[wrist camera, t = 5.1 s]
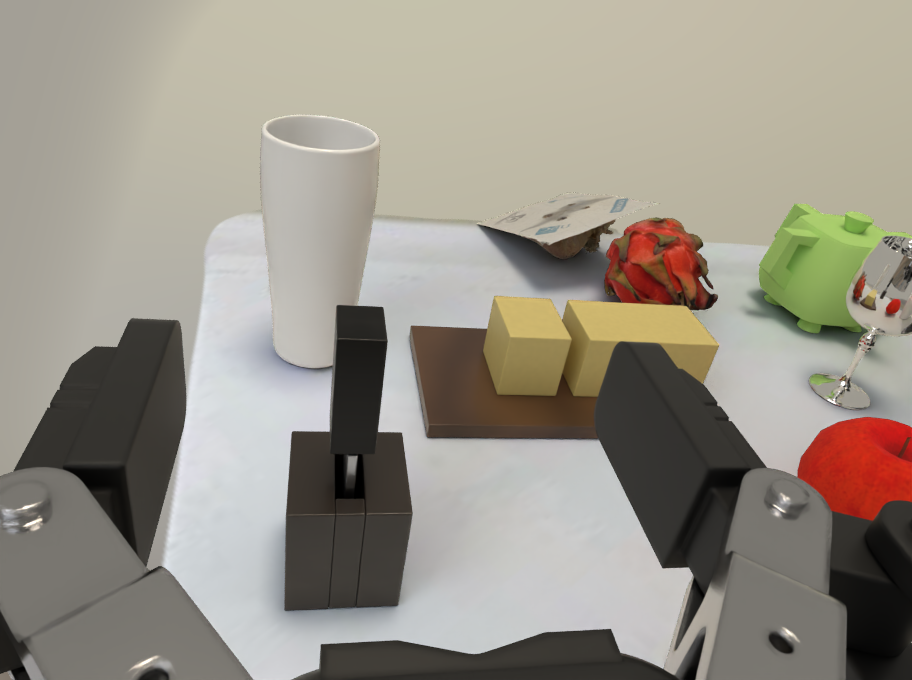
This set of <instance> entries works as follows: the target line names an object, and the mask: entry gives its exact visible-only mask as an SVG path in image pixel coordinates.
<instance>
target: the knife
mask: <svg viewBox="0 0 912 680" xmlns="http://www.w3.org/2000/svg"><path fill="white" fill-rule="evenodd" d="M387 342H388V341H387V333H386V325H385V317H384V309H383V307H373V306H351V305H337V306H336V318H335V335H334V352H333V369H332V387H331V404H330V454H343V468H342V481H341V494H340V499H354V493H355V482H356V471H357V460H358V454H375V452H376V443H377V434H378V425H379V416H380V406H381V397H382V388H383V379H384V370H385V360H386V351H387Z"/></svg>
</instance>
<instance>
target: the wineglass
mask: <svg viewBox="0 0 912 680" xmlns="http://www.w3.org/2000/svg"><path fill="white" fill-rule="evenodd" d="M845 305H846V308H847V311H848V313H849V314H850V316H851V317H852V318H853V319H854V320H855V321H856V322H857V323H858V324H859V325H861V326H862V327H863V328H865V329H867V330H868V332H867V333H865V334H863V335H862V337H861V338H860V339H859V342H858V348H857V351H856V353H855V356H854V359H853V361H852V362H851V364H850V366H849V368H848V369H847V371H846V372H845V374H844V375H843V376H841V377H839V376H835V375H831V374H825V373H818V374H814V375H812V376H811V377H810V378H809V384H810V386H811V388H812V389H813V390H814V391H815V392H816V393H817V394H818V395H819V396H821V397H822V398H824V399H825V400H827V401H829V402H831V403H833V404H835V405H838V406H841V407H844V408H848V409H853V410H862V409H866V408H868V407H869V405H870V398H869V396H868V395H867V394H866V392H865V391H864V390H862V389H861V388H860V387H859V386H857V385H856V384H854V383H852V382H851V378H852V375H853V373H854V371H855V369H856V367H857V365H858V364H859V362H860V360H861V359H862V358H863V357H864V356H865V354H866V353H867V352H868V351H870V350H871V348H872V347H873V346H874V344H875V341H876V334H879V335H884V336H894V337H900V336H908V335H912V239H911V238H907V237H902V236H884V237H882V238H881V240H880V241H879V242H878V243H877V244H876V245H875V246H874V247H873V249H872V250H871V251H870V252H869V253H868V254H867V255H866V256H865V258H864V259H863V260H862V262H861V263H860V264H859V266H858V267H857V269H856V270H855V272H854V273H853V275H852V277H851V279H850V281H849V283H848V286H847V289H846V293H845Z"/></svg>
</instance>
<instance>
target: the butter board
mask: <svg viewBox="0 0 912 680" xmlns="http://www.w3.org/2000/svg"><path fill="white" fill-rule="evenodd" d="M486 334H487V329H477V328H454V327H430V326H411V328H410V336H409V337H410V343H411V348H412V354H413V360H414V365H415V371H416V377H417V383H418V388H419V394H420V400H421V405H422V411H423V417H424V422H425V428H426V434H427V437H477V438H596V439H599V438H598V436H597V434H596V431H595V426H594V408H595V404H596V400H597V397H589V396H573V394H572V392H571V390H570V388H569V385H568V383H567V381H566V379H565V377H564V375H563V373H562V375H561V379H560V382H559V386H558V389H557V393H556V396H537V395H498V394H497V392H496V389H495V386H494V383H493V380H492V377H491V374H490V371H489V368H488V364H487V361H486V358H485V355H484V352H483V348H484V344H485V339H486Z"/></svg>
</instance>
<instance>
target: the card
mask: <svg viewBox="0 0 912 680" xmlns="http://www.w3.org/2000/svg"><path fill="white" fill-rule="evenodd" d="M655 204H658V203H655V202H653V203H651V202H644V201H637V200H633V199H628V198H623V197H616V196H612V195H591V194H590V195H589V194H579V193H574V192H573V193H571V192H569V193H565V194H562V195H559V196H556V197H554V198H552V199H549V200H546V201H542V202H538V203H535V204H532V205H528V206H526V207H523V208H520V209H518V210H515V211H512V212H510V213H506V214H503V215H501V216H498V217H495V218H491V219H489V220H485V221H483V222H479V223H477V224H480V225H483V226H488V227H492V228H496V229H499V230H503V231H506V232H510V233H515V234H516V235H518V236H519V235H521V237H524V238H527V239H530V240H533V241H534V242H536V243H538V244H539V245H540V246H542V247H543V248H545V250H546V251H547V252H548V253H551V255H553V256H555V257H557V258H560V259H567V258H570V257H573V256H575V255H576V254H577V253H578V252H579V251H581V248H582V247H583V248H585V250H586V251H587V252H588V251H589V253H592V252H596V251H598V250H597V249H596V248H598V247H599V242H600V235H601V234H602V233H605V234H613V232H612V231H610V230H608V229H607V228H608V227H609V226H610V225H611V224H613V223H614V222H615V220H616V219H617V218H620V217H623V216H626V215H628V214H631V213H632V212H635V211H637V210H641V209H643V208H646V207H650V206H652V205H655ZM586 251H585V252H586ZM587 252H586V253H587Z"/></svg>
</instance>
